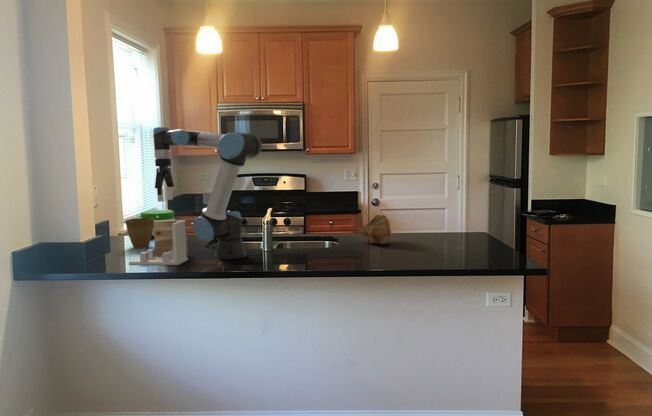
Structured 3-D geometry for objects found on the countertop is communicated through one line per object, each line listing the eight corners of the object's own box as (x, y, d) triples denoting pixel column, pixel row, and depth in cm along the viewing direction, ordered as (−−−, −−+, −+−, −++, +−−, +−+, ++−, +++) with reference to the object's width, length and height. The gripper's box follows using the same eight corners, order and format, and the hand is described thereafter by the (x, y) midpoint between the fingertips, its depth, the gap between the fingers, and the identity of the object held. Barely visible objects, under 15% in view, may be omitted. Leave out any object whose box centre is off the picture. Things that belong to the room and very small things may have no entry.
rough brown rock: (357, 239, 313) (357, 214, 312) (386, 238, 314) (385, 213, 313) (362, 246, 290) (362, 218, 289) (392, 245, 291) (392, 218, 289)
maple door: (184, 257, 265) (183, 221, 263) (153, 257, 266) (152, 221, 265) (188, 255, 269) (186, 220, 267) (157, 255, 271) (156, 220, 269)
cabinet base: (178, 264, 246) (176, 223, 244) (129, 264, 249) (126, 223, 247) (187, 259, 258) (186, 220, 256) (140, 259, 261) (138, 220, 259)
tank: (133, 245, 306) (131, 217, 305) (134, 236, 339) (132, 211, 338) (177, 242, 314) (176, 214, 313) (173, 234, 347) (172, 209, 346)
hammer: (216, 242, 310) (215, 190, 307) (204, 242, 311) (202, 190, 308) (225, 238, 325) (223, 189, 322) (213, 238, 326) (211, 189, 323)
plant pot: (161, 247, 297) (159, 218, 295) (140, 251, 284) (139, 221, 282) (141, 245, 304) (140, 217, 302) (120, 249, 291) (119, 220, 289)
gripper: (161, 157, 254) (164, 202, 256) (178, 158, 279) (180, 198, 281) (146, 158, 255) (149, 202, 256) (164, 158, 280) (166, 199, 281)
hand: (165, 200), depth 269 cm, fingers open, 13 cm apart
